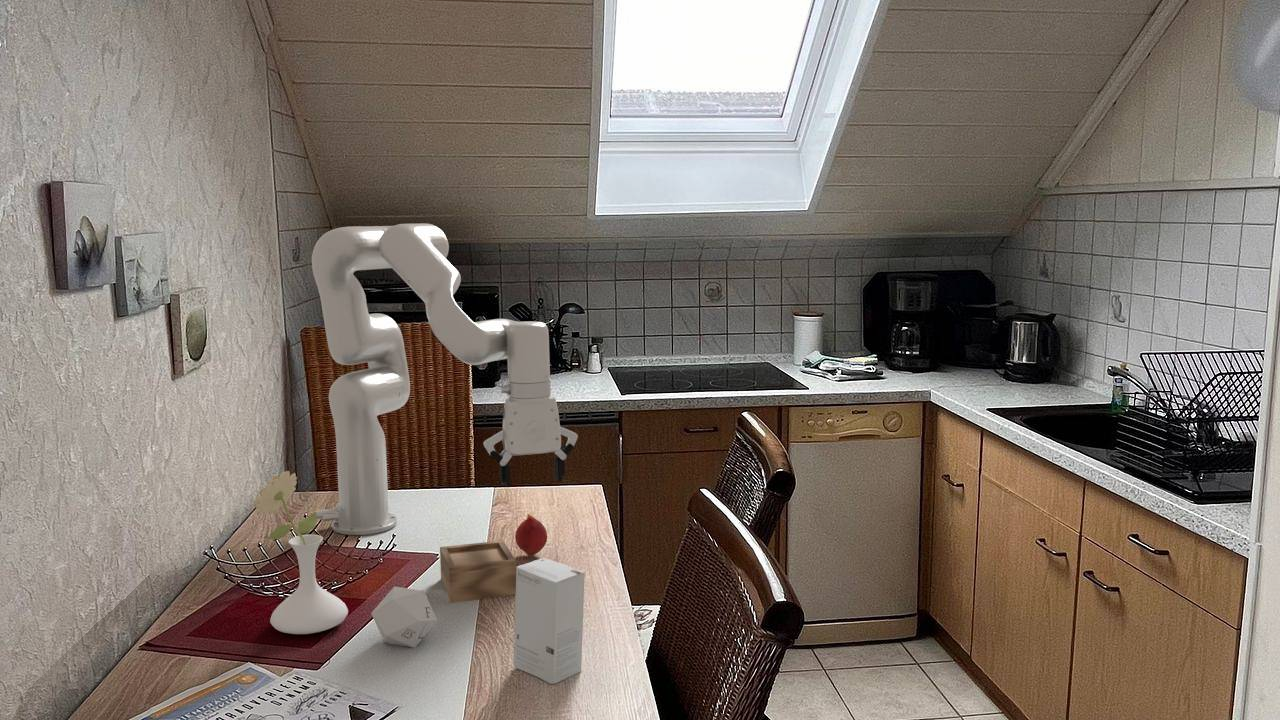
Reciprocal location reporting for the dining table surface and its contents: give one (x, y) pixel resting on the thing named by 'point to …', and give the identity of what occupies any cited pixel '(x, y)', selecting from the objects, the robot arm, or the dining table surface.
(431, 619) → the die
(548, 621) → the skincare box
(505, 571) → the walnut box
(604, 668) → the dining table surface
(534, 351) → the robot arm
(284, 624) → the flower in vase
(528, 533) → the onion
